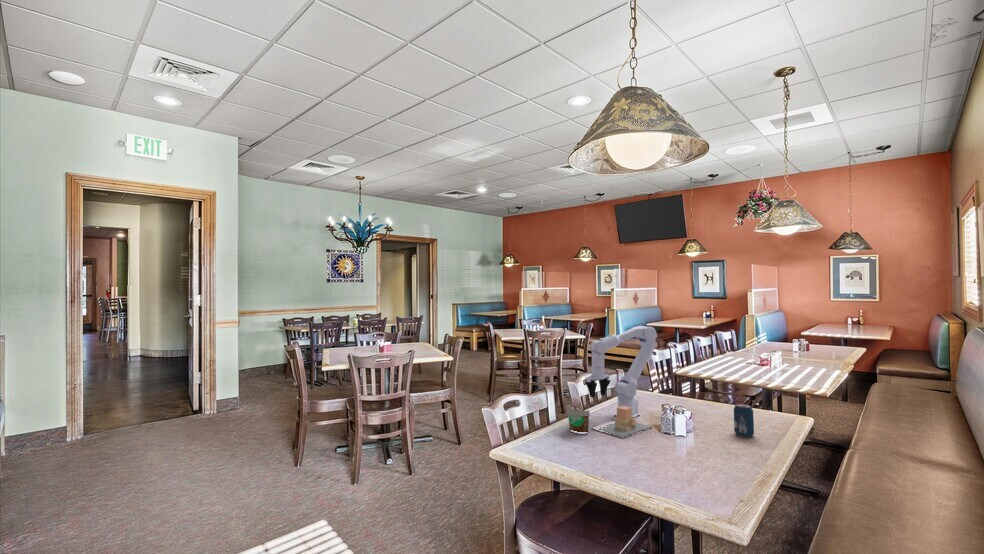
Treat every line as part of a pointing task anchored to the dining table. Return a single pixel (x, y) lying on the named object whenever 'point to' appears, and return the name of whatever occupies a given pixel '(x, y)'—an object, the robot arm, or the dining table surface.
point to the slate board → (623, 433)
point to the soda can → (743, 420)
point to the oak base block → (625, 424)
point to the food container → (578, 419)
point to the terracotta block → (624, 413)
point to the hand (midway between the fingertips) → (597, 396)
